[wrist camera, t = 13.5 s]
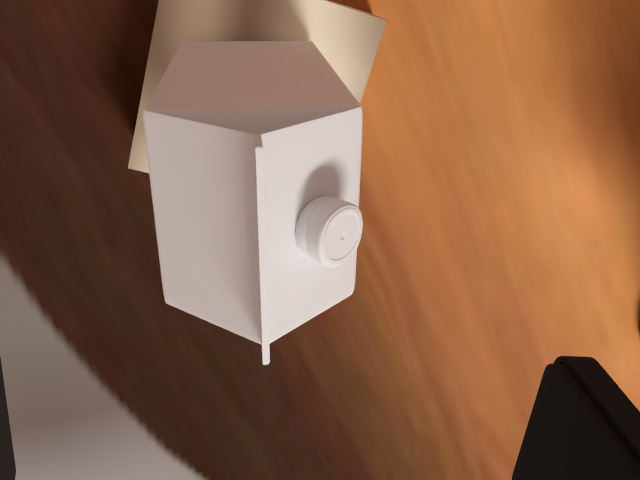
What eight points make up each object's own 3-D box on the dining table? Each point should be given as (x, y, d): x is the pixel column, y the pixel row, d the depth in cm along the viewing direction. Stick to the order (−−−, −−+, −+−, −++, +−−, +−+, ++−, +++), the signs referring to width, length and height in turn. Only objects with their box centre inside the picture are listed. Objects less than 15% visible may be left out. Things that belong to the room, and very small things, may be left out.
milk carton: (191, 166, 35) (149, 373, 18) (180, 40, 32) (119, 149, 15) (311, 163, 36) (377, 358, 19) (313, 39, 33) (392, 142, 16)
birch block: (371, 13, 38) (387, 20, 33) (316, 188, 42) (323, 215, 38) (179, -49, 35) (167, -51, 31) (142, 144, 40) (127, 168, 35)
